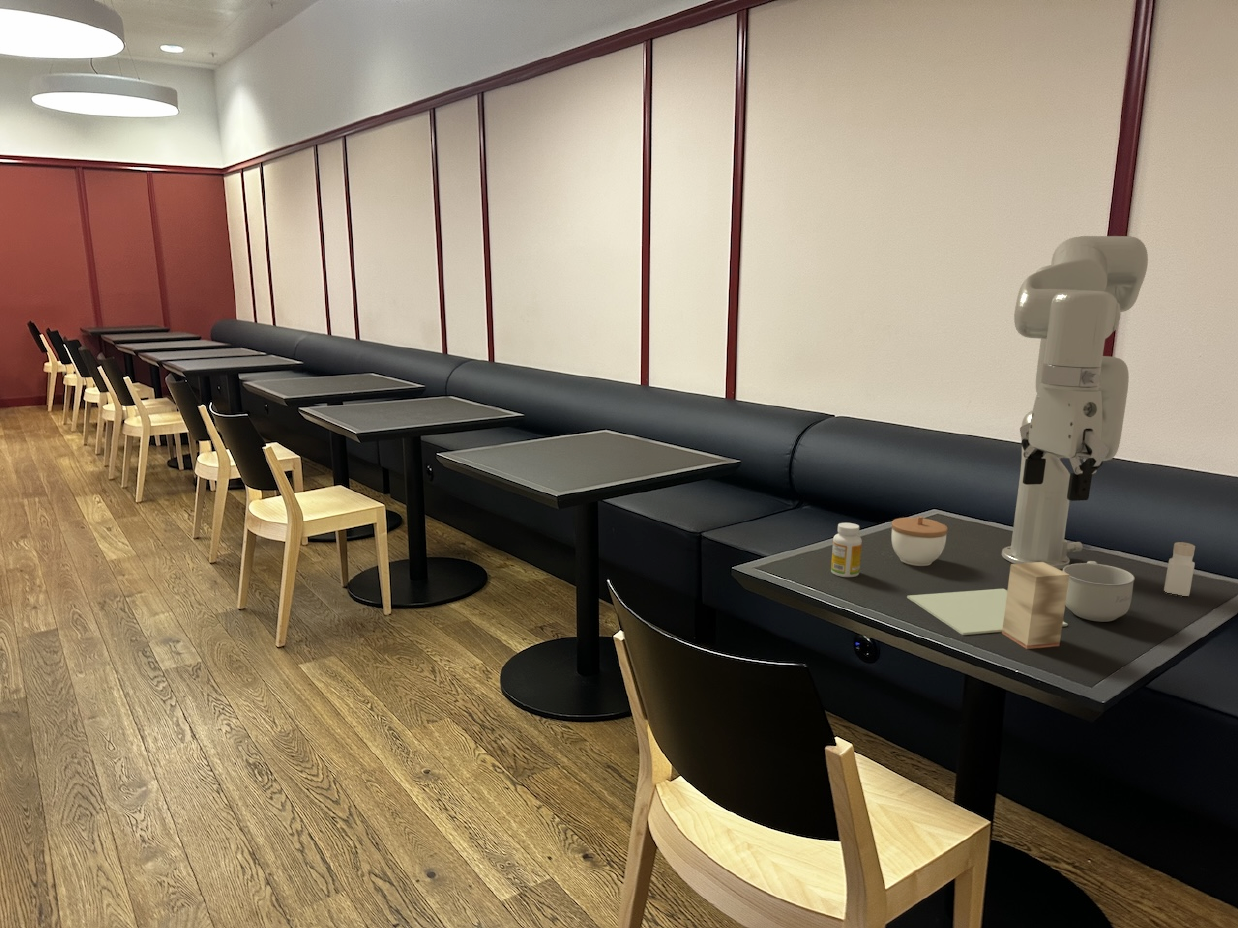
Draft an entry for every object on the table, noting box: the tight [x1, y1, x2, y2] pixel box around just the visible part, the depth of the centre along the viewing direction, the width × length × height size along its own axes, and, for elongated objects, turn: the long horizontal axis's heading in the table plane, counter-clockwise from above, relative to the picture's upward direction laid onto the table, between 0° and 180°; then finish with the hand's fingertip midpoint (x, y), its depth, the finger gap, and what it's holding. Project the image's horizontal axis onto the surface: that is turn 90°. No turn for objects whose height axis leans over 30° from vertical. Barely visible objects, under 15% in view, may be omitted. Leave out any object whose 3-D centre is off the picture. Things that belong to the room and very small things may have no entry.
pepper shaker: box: [1163, 541, 1196, 597], centre depth 160 cm, size 4×4×10 cm
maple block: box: [1001, 562, 1070, 650], centre depth 138 cm, size 6×6×12 cm
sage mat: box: [906, 588, 1068, 636], centre depth 150 cm, size 20×16×1 cm
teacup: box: [1062, 560, 1135, 623], centre depth 150 cm, size 14×11×8 cm
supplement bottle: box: [830, 522, 863, 578], centre depth 167 cm, size 5×5×10 cm
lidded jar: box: [890, 515, 949, 567], centre depth 175 cm, size 11×11×9 cm
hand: (1054, 491), depth 129 cm, fingers open, 9 cm apart
